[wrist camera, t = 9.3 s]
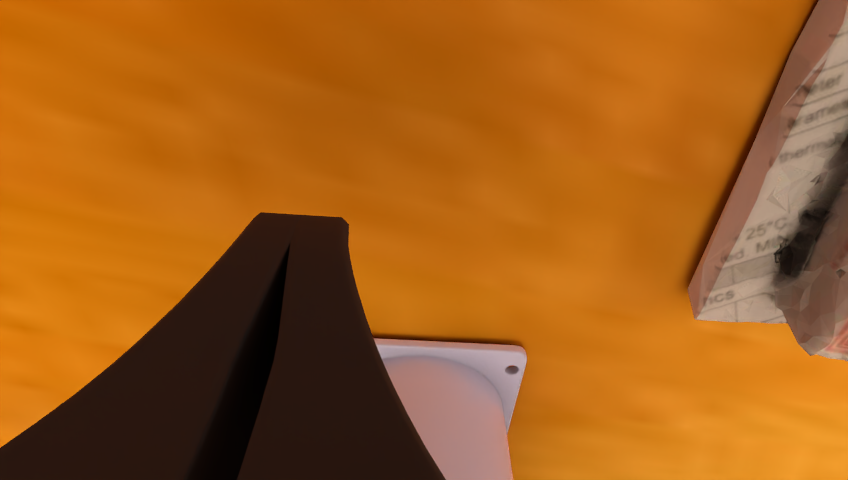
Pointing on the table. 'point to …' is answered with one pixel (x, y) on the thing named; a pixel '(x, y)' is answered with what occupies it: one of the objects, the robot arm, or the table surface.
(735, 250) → the packaged product
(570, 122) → the table surface
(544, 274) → the table surface
